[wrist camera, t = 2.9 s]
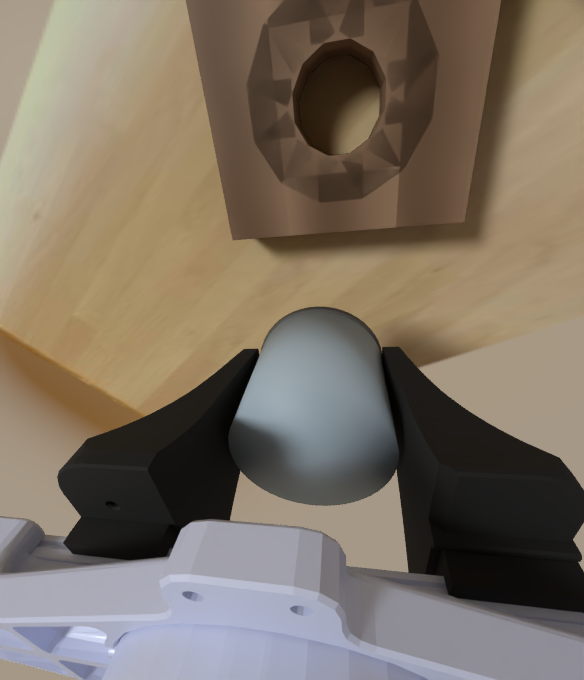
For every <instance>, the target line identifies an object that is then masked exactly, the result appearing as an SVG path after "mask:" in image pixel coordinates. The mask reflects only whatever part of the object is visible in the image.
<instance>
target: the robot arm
mask: <svg viewBox="0 0 584 680" xmlns="http://www.w3.org/2000/svg"><path fill="white" fill-rule="evenodd" d="M258 358H259V351H258V349H244V350H242V351H241V352H240V353H239V354H237V355H236V356H235V357H234V358H233V359H231V360H230V361H229V362H228V363H227V364H226V365H224V366H223V367H222V368H221V369H220V370H218V371H217V372H216V373H215V374H213V375H212V376H211V377H209V378H208V379H207V380H205V381H204V382H203V383H202V384H200V385H199V386H198V387H196V388H195V389H193V390H192V391H190V392H189V393H187V394H186V395H184V396H182V397H181V398H179V399H178V400H176V401H174V402H172V403H171V404H169V405H167V406H165V407H163V408H161V409H159V410H157V411H156V412H154V413H152V414H150V415H147V416H145V417H143V418H141V419H139V420H136V421H134V422H132V423H129V424H127V425H125V426H122V427H120V428H117V429H114V430H111V431H109V432H106V433H103V434H100V435H97V436H94V437H92V438H89V439H87V440H86V441H85V442H84V443H83V445H82V446H81V447H80V448H79V449H78V450H77V452H76V453H75V454H74V455H73V456H72V457H71V458H70V459H69V460H68V462H67V463H66V464H65V465H64V466H63V467H62V468H61V470H60V471H59V473H58V477H57V478H58V483H59V487H60V489H61V490H62V492H63V494H64V495H65V496H66V497H67V498H68V500H69V501H70V503H71V504H72V505H73V506H74V508H75V509H76V510H77V512H78V513H79V514H80V516H82V517H81V518H80V520H79V521H78V522H77V524H76V525H75V527H74V528H73V529H72V531H71V532H70V533H69V535H68V536H67V537H63V536H52V535H45V533H44V531H43V530H42V528H41V527H40V526H39V525H38V524H36V523H35V522H33V521H31V520H28V519H24V518H23V519H22V518H13V517H3V516H0V659H2V660H7V661H11V662H15V663H19V664H23V665H27V666H31V667H35V668H39V669H42V670H47V671H50V672H54V673H57V674H61V675H65V676H68V677H72V678H76V679H79V680H584V572H583V570H582V568H581V567H580V565H579V563H578V562H580V561H581V560H582V555H581V553H580V551H579V549H578V548H577V546H576V544H575V543H574V541H573V538H574V537H575V535H576V534H577V532H578V531H579V529H580V527H581V526H582V524H583V523H584V490H583V488H582V487H581V486H580V484H579V483H578V481H577V480H576V478H575V477H574V476H573V474H572V473H571V472H570V470H569V469H568V468H567V467H566V465H565V464H564V463H563V462H562V460H561V459H560V458H559V457H556V456H554V455H552V454H550V453H547V452H545V451H543V450H540V449H538V448H536V447H534V446H531V445H529V444H527V443H525V442H523V441H520V440H519V439H517V438H514V437H513V436H511V435H509V434H507V433H505V432H503V431H501V430H499V429H497V428H496V427H494V426H492V425H490V424H488V423H487V422H485V421H484V420H482V419H480V418H479V417H477V416H475V415H474V414H472V413H471V412H469V411H468V410H466V409H465V408H463V407H462V406H461V405H459V404H458V403H456V402H455V401H454V400H452V399H451V398H450V397H448V396H447V395H446V394H445V393H443V392H442V391H441V390H440V389H439V388H438V387H437V386H435V385H434V384H433V383H432V382H431V381H430V380H429V379H428V378H427V377H426V376H425V375H424V374H423V373H422V372H421V371H420V370H419V369H418V368H417V367H416V366H415V365H414V363H413V362H412V361H411V360H410V359H409V358H408V357H407V355H406V354H405V353H404V352H403V351H402V350H401V349H400V348H399V347H383V348H382V364H383V369H384V375H385V380H386V385H387V390H388V396H389V401H390V406H391V412H392V417H393V422H394V428H395V433H396V438H397V444H398V449H399V461H398V466H397V476H398V484H399V491H400V499H401V507H402V515H403V524H404V533H405V541H406V551H407V560H408V570H409V573H406V572H397V571H387V570H378V569H367V568H358V567H349V566H346V555H345V554H344V552H343V550H342V548H341V546H340V544H339V543H338V542H337V541H336V540H334V539H332V538H331V537H329V536H328V535H326V534H324V533H323V532H321V531H317V530H312V529H308V528H304V527H298V526H286V525H274V524H262V523H251V522H239V521H230V516H231V510H232V506H233V501H234V497H235V492H236V487H237V483H238V478H239V474H240V469H239V468H238V466H237V465H236V463H235V461H234V460H233V458H232V455H231V453H230V449H229V441H228V436H229V430H230V427H231V425H232V422H233V420H234V417H235V415H236V412H237V410H238V407H239V405H240V402H241V400H242V398H243V395H244V393H245V390H246V388H247V385H248V383H249V380H250V378H251V375H252V373H253V371H254V368H255V366H256V363H257V361H258Z"/></svg>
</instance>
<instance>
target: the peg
mask: <svg viewBox="0 0 584 680" xmlns="http://www.w3.org/2000/svg"><path fill="white" fill-rule="evenodd" d="M228 441H229V449H230V453H231V455H232V458H233V460H234V461H235V463H236V465H237V466H238V468H239V469H240V470H241V472H242V473H243V474H244V475H246V477H247V478H248V479H250V480H251V481H252V482H253V483H255V484H256V485H257V486H259V487H260V488H262V489H264V490H266V491H267V492H269V493H271V494H274V495H276V496H278V497H281V498H283V499H286V500H290V501H293V502H297V503H303V504H309V505H324V506H327V505H340V504H347V503H351V502H355V501H358V500H361V499H364V498H366V497H368V496H371V495H372V494H374V493H376V492H378V491H379V490H380V489H381V488H383V487H384V486H385V485H386V484H387V483H388V482H389V481H390V479H391V478H392V476H393V475H394V473H395V471H396V469H397V466H398V461H399V449H398V444H397V438H396V433H395V428H394V422H393V417H392V412H391V406H390V401H389V396H388V390H387V385H386V380H385V375H384V369H383V364H382V352H381V347H380V344H379V342H378V340H377V338H376V336H375V334H374V333H373V332H372V330H371V329H370V328H369V327H368V326H367V325H366V324H365V323H364V322H363V321H361V320H360V319H358V318H357V317H355V316H354V315H352V314H350V313H348V312H345V311H343V310H339V309H336V308H330V307H308V308H304V309H300V310H297V311H294V312H292V313H290V314H288V315H286V316H285V317H283V318H282V319H280V320H279V321H278V322H277V323H276V324H275V325H274V326H273V327H272V328H271V329H270V331H269V332H268V334H267V336H266V338H265V340H264V343H263V346H262V349H261V353H260V356H259V358H258V361H257V363H256V366H255V368H254V371H253V373H252V375H251V378H250V380H249V383H248V385H247V388H246V390H245V393H244V395H243V398H242V400H241V402H240V405H239V407H238V410H237V412H236V415H235V417H234V420H233V422H232V425H231V427H230V430H229V436H228Z"/></svg>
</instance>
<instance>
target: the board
mask: <svg viewBox="0 0 584 680" xmlns="http://www.w3.org/2000/svg"><path fill="white" fill-rule="evenodd" d="M186 3H187V9H188V14H189V19H190V24H191V29H192V34H193V39H194V44H195V50H196V55H197V60H198V65H199V70H200V75H201V80H202V85H203V91H204V96H205V101H206V106H207V111H208V116H209V121H210V126H211V132H212V137H213V142H214V147H215V152H216V157H217V162H218V167H219V173H220V178H221V183H222V188H223V193H224V198H225V203H226V208H227V214H228V219H229V224H230V229H231V234H232V239H233V240H241V239H254V238H267V237H280V236H293V235H306V234H319V233H331V232H344V231H357V230H370V229H383V228H396V227H409V226H422V225H434V224H447V223H460V222H465V216H466V210H467V204H468V198H469V192H470V186H471V180H472V174H473V168H474V162H475V156H476V150H477V144H478V138H479V132H480V126H481V120H482V114H483V108H484V102H485V96H486V89H487V83H488V77H489V71H490V65H491V59H492V53H493V47H494V41H495V35H496V29H497V23H498V17H499V11H500V5H501V0H186ZM344 55H351V56H352V57H354V58H356V59H358V60H359V61H361V62H363V63H365V64H366V65H368V66H369V67H370V69H371V71H372V73H373V75H374V77H375V79H376V81H377V84H378V86H379V88H380V110H379V118H378V120H377V122H376V124H375V126H374V128H373V130H372V132H371V134H370V136H369V138H368V140H366V141H365V142H364V143H362V144H361V145H360V146H359V147H357V148H356V149H355V150H353V151H352V152H351V153H347V154H339V155H331V156H330V155H328V154H326V153H324V152H322V151H320V150H318V149H317V148H315V147H313V146H312V145H311V143H310V142H309V140H308V138H307V137H306V135H305V133H304V132H303V130H302V128H301V125H300V112H299V99H300V96H301V94H302V91H303V88H304V85H305V83H306V80H307V77H308V76H309V75H310V74H311V73H312V72H313V71H314V70H315V69H316V68H317V67H318V66H319V65H320V64H321V63H322V62H323V61H324V60H325V59H327V58H332V57H338V56H344Z"/></svg>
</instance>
